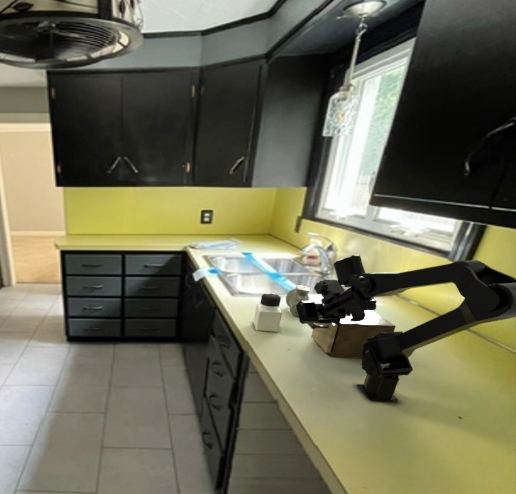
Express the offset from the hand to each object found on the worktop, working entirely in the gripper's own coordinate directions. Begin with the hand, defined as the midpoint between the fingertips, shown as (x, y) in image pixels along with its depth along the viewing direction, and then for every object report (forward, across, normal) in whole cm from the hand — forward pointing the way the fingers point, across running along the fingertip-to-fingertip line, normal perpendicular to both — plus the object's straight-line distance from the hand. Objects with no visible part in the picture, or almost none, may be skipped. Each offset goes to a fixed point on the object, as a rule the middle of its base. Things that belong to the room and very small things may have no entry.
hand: (312, 321), depth 110 cm
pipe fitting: (+26, -14, -13) cm, 32 cm away
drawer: (+3, -7, +7) cm, 10 cm away
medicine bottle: (+17, +6, -4) cm, 18 cm away
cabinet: (+3, -12, +8) cm, 15 cm away
